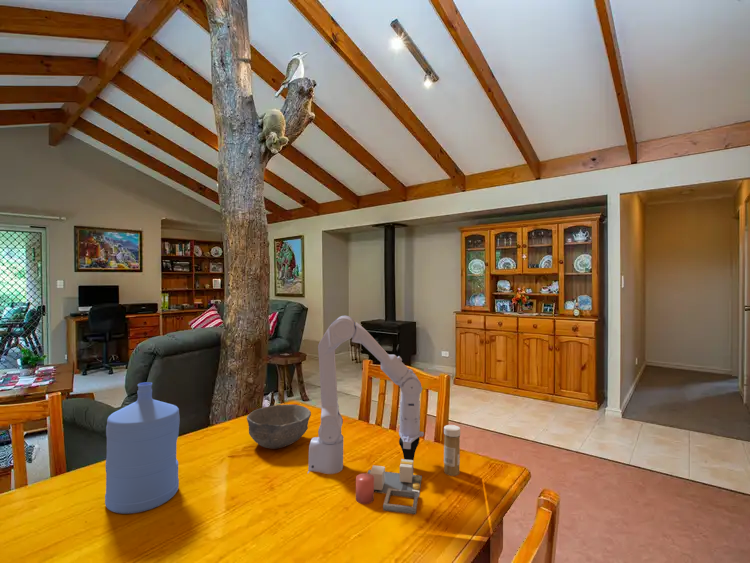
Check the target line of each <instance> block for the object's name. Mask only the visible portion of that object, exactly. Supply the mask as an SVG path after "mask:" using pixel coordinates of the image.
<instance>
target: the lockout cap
mask: <svg viewBox="0 0 750 563" xmlns="http://www.w3.org/2000/svg"><path fill="white" fill-rule="evenodd" d="M374 496H375V492H374V476H373V475H371V474H368V472H366V473H359V474H358V475H356V478H355V501H356V502H357V503H358V504H361V505H368V504H371V503H373V502H374V498H375V497H374Z"/></svg>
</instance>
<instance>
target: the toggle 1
mask: <svg viewBox="0 0 750 563" xmlns="http://www.w3.org/2000/svg"><path fill="white" fill-rule="evenodd" d="M370 470H371V472H370V474H371V475H373V476H374V490H382V489H383V486H384V483H385V472H386V467H385V466H382V465H374V464H373V465H372V467H371V469H370Z"/></svg>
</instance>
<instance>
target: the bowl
mask: <svg viewBox="0 0 750 563" xmlns="http://www.w3.org/2000/svg"><path fill="white" fill-rule="evenodd" d="M311 416H312V412H311V410H310V408H308V407H305V406H303V405H298V404H276V405H269V406H265V407H262V408H258V409H255V410H252V412H250V413H249V414H248V415H247V417H246V420H247V424H248V434H249V436H250V437H251V439H252V440H253V441H254V442H255V443H256V444H257V445H259V446H261V447H263V448H267V449H272V450H276V449H277V450H278V449H282V448H285V447H288V446H291V445H292V444H294V443H295V442H297V441H298V440H299V439H301V437H303V436H304V435H305V433H306V432H307V430H308V425H309V421H310V418H311Z"/></svg>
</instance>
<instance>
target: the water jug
mask: <svg viewBox="0 0 750 563" xmlns="http://www.w3.org/2000/svg"><path fill="white" fill-rule="evenodd" d="M152 386H153V382H149V381H147V382H145V381H144V382H139V383H138V384H137V387H138V388H137V389H138V390H137V392H136V393H137V399H136V401H134V402H131V403H130V404H128V405H126V406H124V407H122V408H119V409H118V410H116V411H114V412H112V413H111V414H109V415H108V417H107V420H106V427H105V436H106V459H105V494H104V504H105V507H106V508H107V510H109V511H110V512H113V513H116V514H124V515H125V514H127V515H128V514H137V513H142V512H147V511H149V510H152V509H155V508H157V507H159V506H161V505H164V504H165V503H167V502H168V501H170V500H171V499H172V498H173V497H174V496H175V495H176V493H177V492H178V490H179V486H180V484H179V482H180V480H179V461H178V459H177V442H178V438H179V434H180V423H181V421H180V417H181V416H180V408H179V407H178V406H177V405H176V404H172V403H168V402H166V401H165V402H164V401H162V400H161V401H160V400H157V399H154V398H153V387H152Z"/></svg>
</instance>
